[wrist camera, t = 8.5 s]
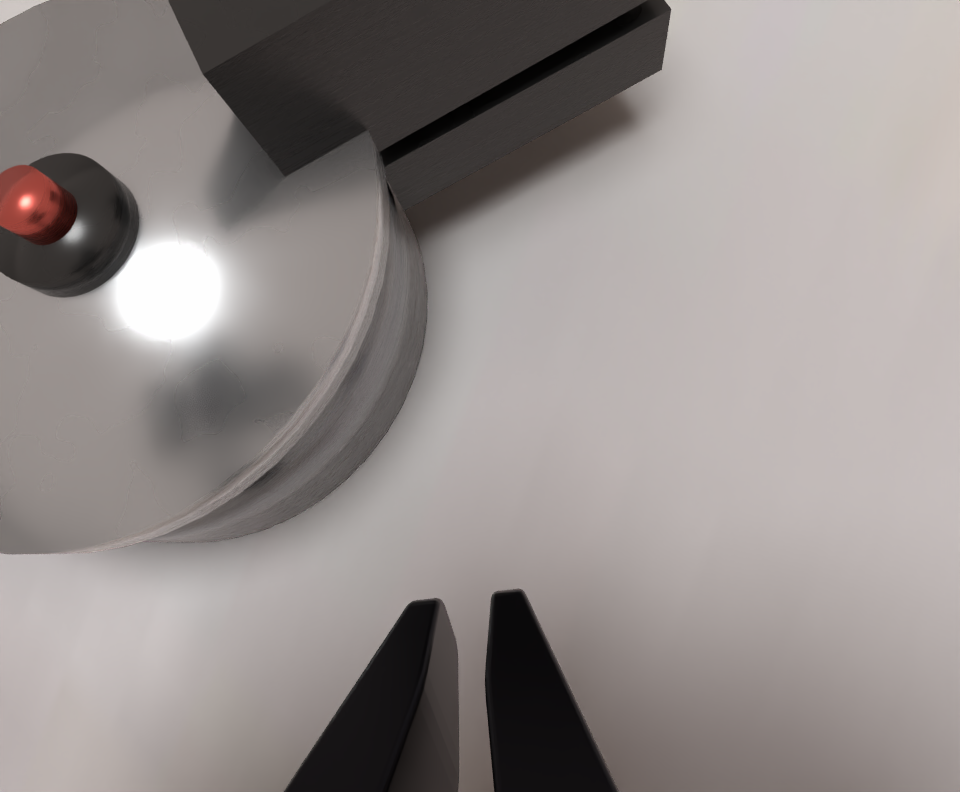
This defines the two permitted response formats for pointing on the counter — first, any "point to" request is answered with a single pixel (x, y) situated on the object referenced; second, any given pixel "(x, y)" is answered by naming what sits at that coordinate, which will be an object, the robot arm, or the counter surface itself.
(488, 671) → the robot arm
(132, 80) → the lid
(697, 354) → the counter surface
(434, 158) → the grey round flat pan
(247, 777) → the counter surface
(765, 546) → the counter surface
